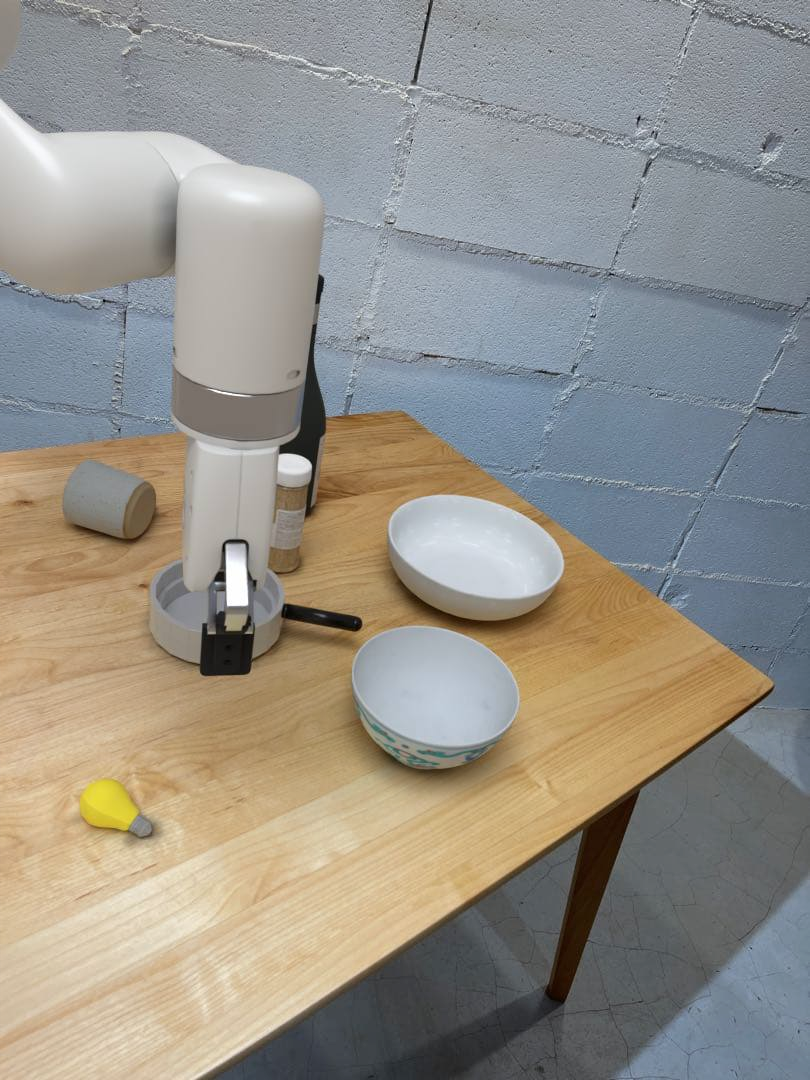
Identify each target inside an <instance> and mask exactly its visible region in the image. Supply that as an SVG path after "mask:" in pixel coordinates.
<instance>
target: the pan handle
mask: <svg viewBox="0 0 810 1080" xmlns="http://www.w3.org/2000/svg"><path fill="white" fill-rule="evenodd" d="M281 617H282V618H283V620H288V621H292V622H298V623H299V622H300V623H305V624H308V625H314V626H320V627H325V628H331V629H336V630H343V631H347V632H352V633H356V632H359V631H360V630H361V629H362V628H363V625H364V623H363V620H362V618H361V617H359V616H357V615H352V614H348V613H341V612H337V611H331V610H325V609H319V608H315V607H310V606H303V605H298V604H292V603H286V602H285V604H284V605H283V609H282V615H281Z"/></svg>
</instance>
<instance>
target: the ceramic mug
mask: <svg viewBox="0 0 810 1080" xmlns="http://www.w3.org/2000/svg"><path fill="white" fill-rule="evenodd" d="M156 505H157V493H156V489H155V487H154V486H153V485H152V483H151V482H149V481H147V480H146V479H144V478H142V477H140V476H138V475H135V474H132V473H129V472H126V471H124V470H120V469H118V468H115V467H113V466H111V465H109V464H105V463H104V462H100V461H98V460H96V459H86V460H83V461H81V463H79V464H77V466H76V467H75V468H74V469H73V471H72V472H71V473H70V475H69V477H68V479H67V481H66V484H65V486H64V490H63V494H62V503H61V508H62V514H63V516H64V518H65V520H66V521H67V522H69V523H70V524H72V525H76V526H80V527H83V528H85V529H90V530H93V531H96V532H100V533H102V534H103V533H104V534H106V535H109V536H112V537H116V538H119V539H125V540H126V539H127V540H133V539H136V538H138V537H139V536H141V535H142V534H143V533H144V532H145V530H147V528H148V527H149V525H150V523H151V521H152V519H153V517H154V513H155V511H156V510H155V509H156Z"/></svg>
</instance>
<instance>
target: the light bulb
mask: <svg viewBox="0 0 810 1080" xmlns="http://www.w3.org/2000/svg"><path fill="white" fill-rule="evenodd" d="M78 802H79V812H80V814H81V817H82V818H83V820H84V821H86V823H88V824H89V825H92V826H94V827H97V828H110V829H117V830H119V831H122V832H125V831H129V832H131V833H132V834H134V835H136V836H137V837H138V838H142V837H146V836H150V834H151V833H152V831H153V826H152V825H153V824H152V820H151V819H150V820H149V818H147V817H145V816H144V815H143V814H141V813H140V808H139V807H138V806H137V805H135V804H134V803H133V801H132V798H131V796H130V794H129V793H128V791H127V788H126V787H125V786H124V785H123V784H122V783H121V782H120V781H119V780H116V779H114V778H108V777H103V778H99V779H96V780H94V781H92V782H91V783H89V784H88V785H87V786H86V787H85V788H84V790H83V791H82V793H80V798H79V801H78Z"/></svg>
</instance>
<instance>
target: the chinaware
mask: <svg viewBox="0 0 810 1080" xmlns="http://www.w3.org/2000/svg"><path fill="white" fill-rule="evenodd" d="M350 679H351V682H350V683H351V692H352V698H353V702H354V705H355V709H356V712H357V715H358V717H359V719H360V721H361V723H362V725H363V727H364V729H365V730H366V732H367V733H368V735H369V736H370V737H371V738H372V740H373V741H374V742H375V743H376V744H377V745H378V746H379V747H380V748H381V749H382V750H384V751H385V752H386V753H388V755H391V756H392V757H393V758H395V759H396V760H397V761H398V762H400V763H402V764H403V765H405V766H407V767H410V768H414V769H418V770H436V769H439V770H440V769H450V768H456V767H459V766H462V765H465V764H468V763H470V762H473V761H474V760H477V759H478V758H480V757H482V756H484V755H485V754H486V753H487V752H488V751H490V750H491V749H492V748H494V747H495V745H496V744H498V742H500V740H501V739H502V738H503V737H504V736H505V735H506V733H507V732H508V730H510V727H511V726H512V724H513V723H514V721H515V720H516V718H517V715H518V713H519V709H520V703H521V696H520V689H519V686H518V683H517V680H516V678H515V676H514V674H513V672H512V670H510V668H509V667H508V665H507V664H506V663H505V662H504V661H503V660H502V659H501V657H499V656H498V655H497V654H496V653H495V652H493V651H492V650H491V649H490V648H489V647H487V646H486V645H484V644H482V643H481V642H480V641H477V640H475V639H474V638H471V637H470V636H467V635H464V634H462V633H460V632H457V631H454V630H450V629H446V628H442V627H437V626H429V625H407V626H405V625H404V626H399V627H394V628H390V629H387V630H384V631H382V632H379V633H377V634H376V635H374V636H372V637H370V638H369V639H368V640H367V641H365V642H364V643H363V644H362V645H361V646H360V647H359V649H358V651H357V652H356V654H355V656H354V657H353V661H352V664H351V671H350Z"/></svg>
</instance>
